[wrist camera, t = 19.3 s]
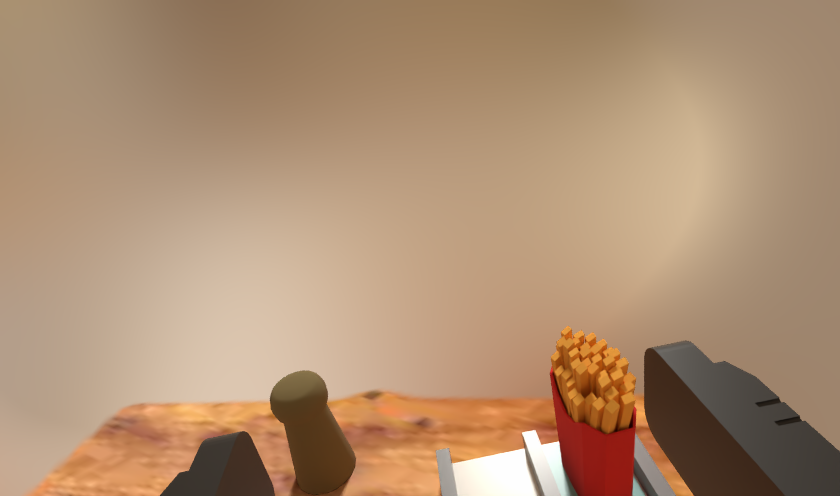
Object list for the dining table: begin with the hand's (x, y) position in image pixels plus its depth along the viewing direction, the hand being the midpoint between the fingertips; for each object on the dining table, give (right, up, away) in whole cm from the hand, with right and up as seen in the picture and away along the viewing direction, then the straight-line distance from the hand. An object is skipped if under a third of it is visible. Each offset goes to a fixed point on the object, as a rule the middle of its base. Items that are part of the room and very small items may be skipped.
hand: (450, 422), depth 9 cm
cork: (-10, -19, +38) cm, 44 cm away
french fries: (+14, -16, +30) cm, 37 cm away
